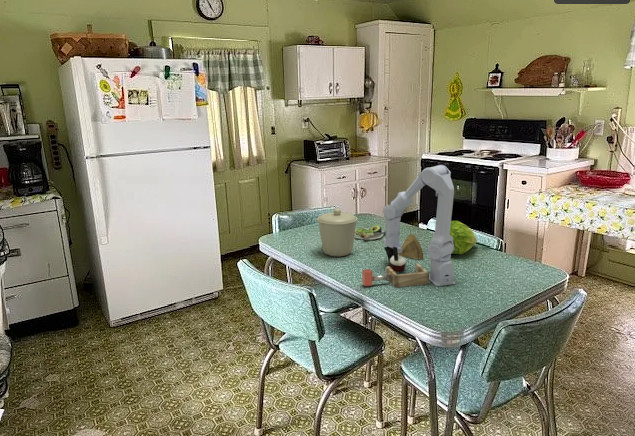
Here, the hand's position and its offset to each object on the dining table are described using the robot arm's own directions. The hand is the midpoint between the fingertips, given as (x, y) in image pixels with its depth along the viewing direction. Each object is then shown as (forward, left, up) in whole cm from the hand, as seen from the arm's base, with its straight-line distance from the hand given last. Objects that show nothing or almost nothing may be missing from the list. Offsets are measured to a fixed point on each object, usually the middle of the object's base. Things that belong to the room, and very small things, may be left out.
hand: (392, 263), depth 192 cm
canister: (+22, +18, -1) cm, 28 cm away
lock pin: (-17, +12, 0) cm, 21 cm away
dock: (-15, 0, -1) cm, 15 cm away
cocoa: (-6, 0, -1) cm, 6 cm away
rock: (+8, -12, -1) cm, 15 cm away
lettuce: (+9, -35, -1) cm, 36 cm away
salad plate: (+44, -4, -2) cm, 45 cm away
